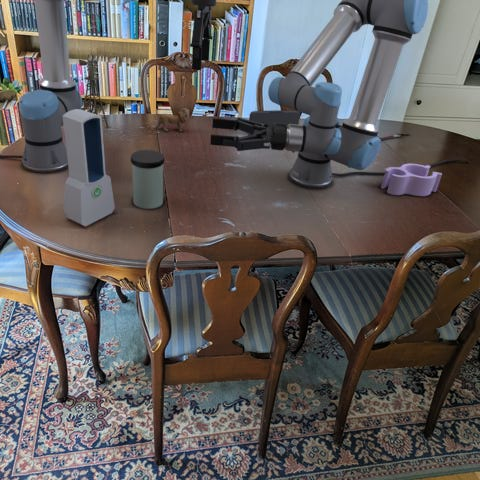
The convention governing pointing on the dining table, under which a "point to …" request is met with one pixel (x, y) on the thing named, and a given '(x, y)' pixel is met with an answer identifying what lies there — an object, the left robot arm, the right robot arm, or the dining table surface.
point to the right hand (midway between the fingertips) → (211, 130)
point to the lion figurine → (174, 119)
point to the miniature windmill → (92, 78)
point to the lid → (147, 159)
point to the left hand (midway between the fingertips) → (200, 65)
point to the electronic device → (86, 169)
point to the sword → (392, 136)
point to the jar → (147, 187)
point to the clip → (410, 180)
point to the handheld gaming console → (275, 117)
